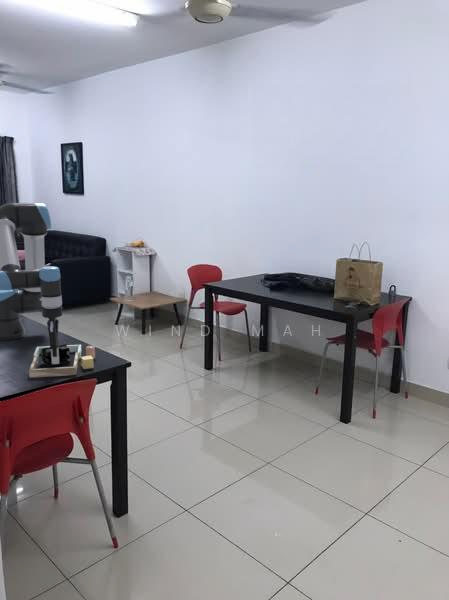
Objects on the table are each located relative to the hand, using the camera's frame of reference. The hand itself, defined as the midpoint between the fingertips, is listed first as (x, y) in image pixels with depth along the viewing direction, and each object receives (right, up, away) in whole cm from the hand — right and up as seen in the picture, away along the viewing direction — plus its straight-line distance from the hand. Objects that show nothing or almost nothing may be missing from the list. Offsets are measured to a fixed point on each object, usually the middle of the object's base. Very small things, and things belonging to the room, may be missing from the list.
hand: (55, 363), depth 191 cm
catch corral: (-4, +1, +13) cm, 14 cm away
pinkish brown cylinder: (+11, +1, +12) cm, 16 cm away
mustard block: (+12, -2, +2) cm, 13 cm away
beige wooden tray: (0, -2, 0) cm, 2 cm away
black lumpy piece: (-2, -1, +6) cm, 6 cm away
